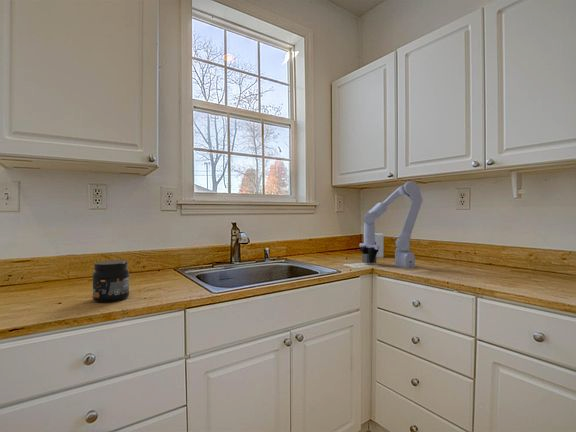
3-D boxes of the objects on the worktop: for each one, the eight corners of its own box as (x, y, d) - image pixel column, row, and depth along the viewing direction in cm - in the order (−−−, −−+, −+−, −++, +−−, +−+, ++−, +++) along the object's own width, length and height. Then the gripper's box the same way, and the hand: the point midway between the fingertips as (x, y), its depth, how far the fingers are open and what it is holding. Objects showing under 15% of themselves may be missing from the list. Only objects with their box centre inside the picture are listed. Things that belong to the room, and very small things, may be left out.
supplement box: (368, 257, 199) (368, 233, 199) (369, 255, 207) (369, 232, 207) (383, 257, 196) (383, 234, 196) (383, 256, 205) (383, 233, 205)
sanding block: (376, 263, 163) (376, 254, 163) (366, 264, 160) (366, 254, 160) (371, 262, 166) (371, 253, 166) (362, 263, 164) (362, 254, 164)
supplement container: (91, 297, 103) (91, 261, 103) (126, 293, 109) (126, 259, 109) (93, 305, 95) (93, 266, 94) (131, 300, 101) (131, 262, 101)
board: (380, 268, 159) (380, 265, 159) (354, 270, 153) (354, 267, 153) (367, 264, 170) (367, 262, 170) (342, 266, 164) (342, 264, 164)
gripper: (354, 235, 168) (354, 260, 169) (371, 237, 155) (371, 264, 155) (365, 234, 171) (365, 259, 171) (383, 236, 158) (383, 263, 158)
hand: (369, 262), depth 163 cm, fingers closed on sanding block, 4 cm apart
